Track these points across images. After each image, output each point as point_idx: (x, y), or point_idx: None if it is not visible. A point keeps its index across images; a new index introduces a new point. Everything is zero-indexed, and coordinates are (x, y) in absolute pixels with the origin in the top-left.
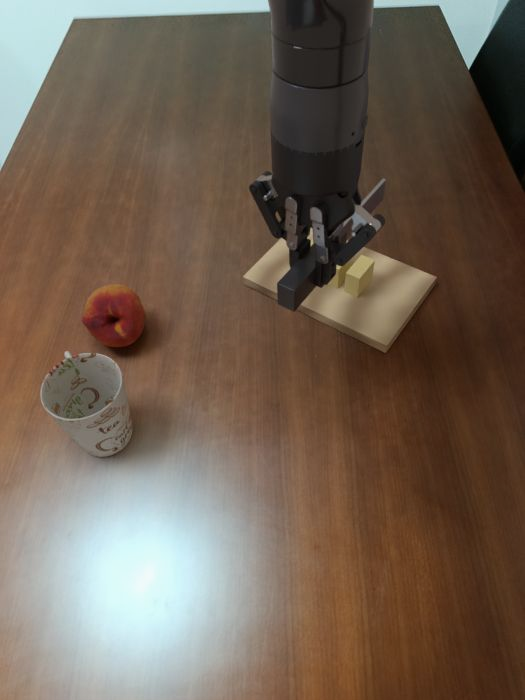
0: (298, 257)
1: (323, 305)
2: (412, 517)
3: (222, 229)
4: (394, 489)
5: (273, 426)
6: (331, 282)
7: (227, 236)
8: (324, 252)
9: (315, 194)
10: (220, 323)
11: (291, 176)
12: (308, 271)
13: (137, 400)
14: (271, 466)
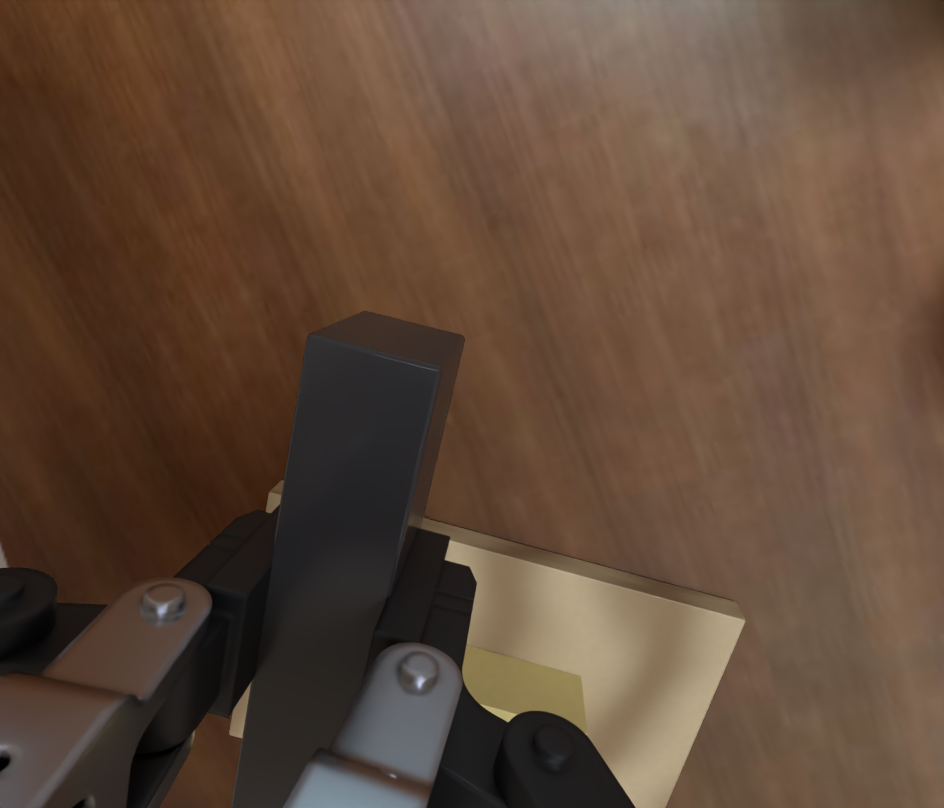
0: (385, 608)
1: (475, 577)
2: (58, 20)
3: (870, 780)
4: (123, 82)
5: (479, 149)
6: (475, 656)
7: (845, 758)
8: (108, 642)
9: None
10: (757, 447)
11: None
12: (292, 520)
13: (931, 78)
14: (439, 17)
